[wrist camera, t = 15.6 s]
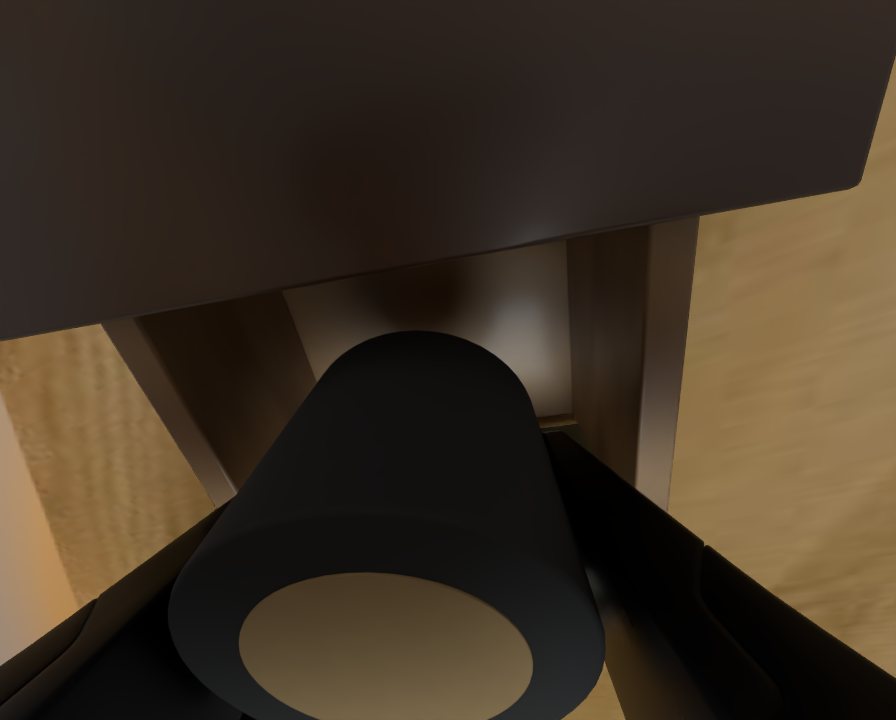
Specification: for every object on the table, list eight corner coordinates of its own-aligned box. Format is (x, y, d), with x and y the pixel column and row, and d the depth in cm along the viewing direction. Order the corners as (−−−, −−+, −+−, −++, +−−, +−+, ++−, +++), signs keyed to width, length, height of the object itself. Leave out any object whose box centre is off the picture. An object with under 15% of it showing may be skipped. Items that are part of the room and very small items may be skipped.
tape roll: (578, 451, 9) (685, 699, 5) (411, 540, 11) (376, 785, 6) (438, 276, 7) (405, 416, 3) (263, 415, 9) (75, 637, 5)
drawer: (602, 518, 18) (674, 691, 12) (362, 541, 19) (316, 707, 13) (603, 103, 11) (794, -3, 5) (215, 187, 12) (-42, 193, 6)
